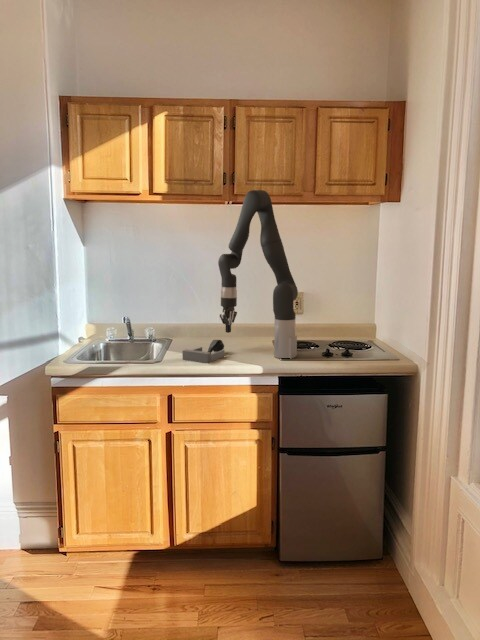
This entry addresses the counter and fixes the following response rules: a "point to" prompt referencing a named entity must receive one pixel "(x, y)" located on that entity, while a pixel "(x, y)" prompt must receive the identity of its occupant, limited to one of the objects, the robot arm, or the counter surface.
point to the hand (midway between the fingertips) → (228, 332)
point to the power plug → (216, 346)
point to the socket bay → (202, 355)
